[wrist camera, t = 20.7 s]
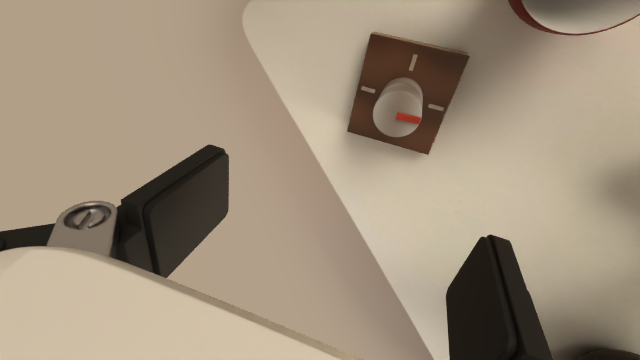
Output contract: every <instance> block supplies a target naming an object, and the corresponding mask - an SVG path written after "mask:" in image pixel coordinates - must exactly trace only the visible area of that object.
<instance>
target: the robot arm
mask: <svg viewBox="0 0 640 360" xmlns="http://www.w3.org/2000/svg"><path fill="white" fill-rule="evenodd" d="M228 192H229V156H228V154H226V153H225V150H224V149H223V148H219V147H216V146H213V145H207V146H205V147H204V148H202V149H200V150H199V151H197V152H196V153H194V154H193V155H191V156H190V157H188V158H186V159H185V160H183V161H182V162H180V163H178V164H177V165H175V166H174V167H172V168H171V169H169V170H167V171H166V172H164V173H163V174H161V175H160V176H158V177H156V178H155V179H153V180H151V181H150V182H148V183H147V184H145V185H144V186H142V187H141V188H139V189H137V190H136V191H134V192H132V193H131V194H129V195H128V196H126V197H125V198H123V199H121V203H122V204H121V205H120V206H118V207H117V208H116V207H115V206H114V205H113V204H111V203H109V202H104V201H90V202H84V203H80V204H77V205H74V206H72V207H70V208H68V209H67V210H65V211H64V212H63V213H61V215H60V216H59V217H58V219H57V221H56V223H55V224H48V225H41V226H35V227H28V228H21V229H15V230H8V231H1V232H0V360H362V359H360V358H357V357H355V356H353V355H351V354H348V353H346V352H343V351H341V350H339V349H336V348H334V347H332V346H329V345H327V344H324V343H322V342H319V341H317V340H315V339H312V338H310V337H308V336H305V335H303V334H300V333H298V332H296V331H293V330H291V329H288V328H286V327H284V326H281V325H279V324H276V323H274V322H271V321H269V320H267V319H264V318H262V317H259V316H257V315H255V314H252V313H250V312H247V311H245V310H242V309H240V308H237V307H235V306H233V305H230V304H228V303H225V302H223V301H221V300H218V299H216V298H213V297H211V296H208V295H206V294H203V293H201V292H198V291H196V290H194V289H191V288H188V287H186V286H184V285H181V284H178V283H176V282H174V281H172V280H169V279H167V277H168V276H169V275H170V274H171V273H172V272H173V271H174V270H175V269H176V268H177V267H178V266H179V265H180V264H181V263H182V261H183V260H184V259H185V258H186V257H187V256H188V255H189V254H190V253H191V252H192V251H193V250H194V249H195V248H196V247H197V246H198V245H199V244H200V243H201V242H202V241H203V240H204V239H205V238H206V236H207V235H208V234H209V233H210V232H211V231H212V230H213V229H214V228H215V227H216V226H217V225H218V224H219V223H220V222H221V221H222V220H223V219H224V218H225V216H226V215H227V212H228V196H229V194H228ZM446 306H447V322H448V339H449V355H450V360H553V358H552V355H551V352H550V349H549V347H548V344H547V341H546V338H545V335H544V332H543V330H542V327H541V324H540V321H539V318H538V315H537V313H536V310H535V307H534V304H533V301H532V298H531V296H530V294H529V292H528V290H527V288H526V285H525V282H524V279H523V277H522V274H521V271H520V268H519V265H518V262H517V259H516V257H515V254H514V251H513V248H512V245H511V243H510V241H509V240H506V239H503V238H500V237H497V236H494V235H488V236H487V237H481V238H480V239H479V240H478V242H477V243H476V245H475V247H474V248H473V250H472V251H471V253H470V254H469V256H468V258H467V259H466V261H465V262H464V264H463V265H462V267H461V269H460V270H459V272H458V273H457V275H456V276H455V278H454V279H453V281H452V283H451V284H450V286H449V287H448V290H447V293H446Z"/></svg>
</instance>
